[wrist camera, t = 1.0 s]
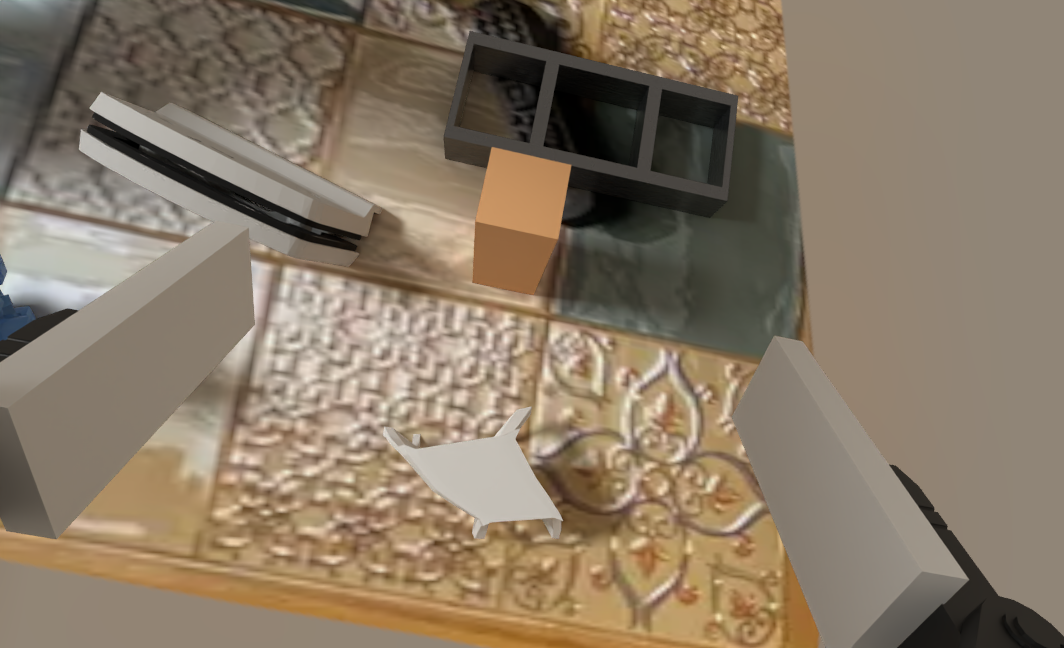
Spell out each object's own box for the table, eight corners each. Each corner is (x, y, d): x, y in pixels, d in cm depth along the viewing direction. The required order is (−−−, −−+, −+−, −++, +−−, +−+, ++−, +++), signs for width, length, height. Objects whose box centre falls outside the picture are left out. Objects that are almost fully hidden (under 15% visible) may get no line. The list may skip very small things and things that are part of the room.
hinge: (387, 210, 40) (332, 189, 30) (360, 268, 41) (297, 266, 31) (182, 107, 40) (60, 51, 30) (157, 166, 41) (28, 131, 31)
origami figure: (568, 415, 39) (583, 410, 34) (553, 541, 37) (567, 555, 32) (396, 390, 38) (386, 381, 33) (371, 518, 36) (357, 529, 31)
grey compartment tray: (445, 158, 42) (443, 136, 39) (469, 58, 44) (469, 30, 41) (709, 217, 43) (727, 201, 40) (720, 118, 45) (738, 95, 42)
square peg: (533, 295, 40) (558, 239, 29) (472, 282, 40) (475, 221, 29) (544, 238, 41) (571, 164, 31) (484, 225, 41) (491, 146, 30)
